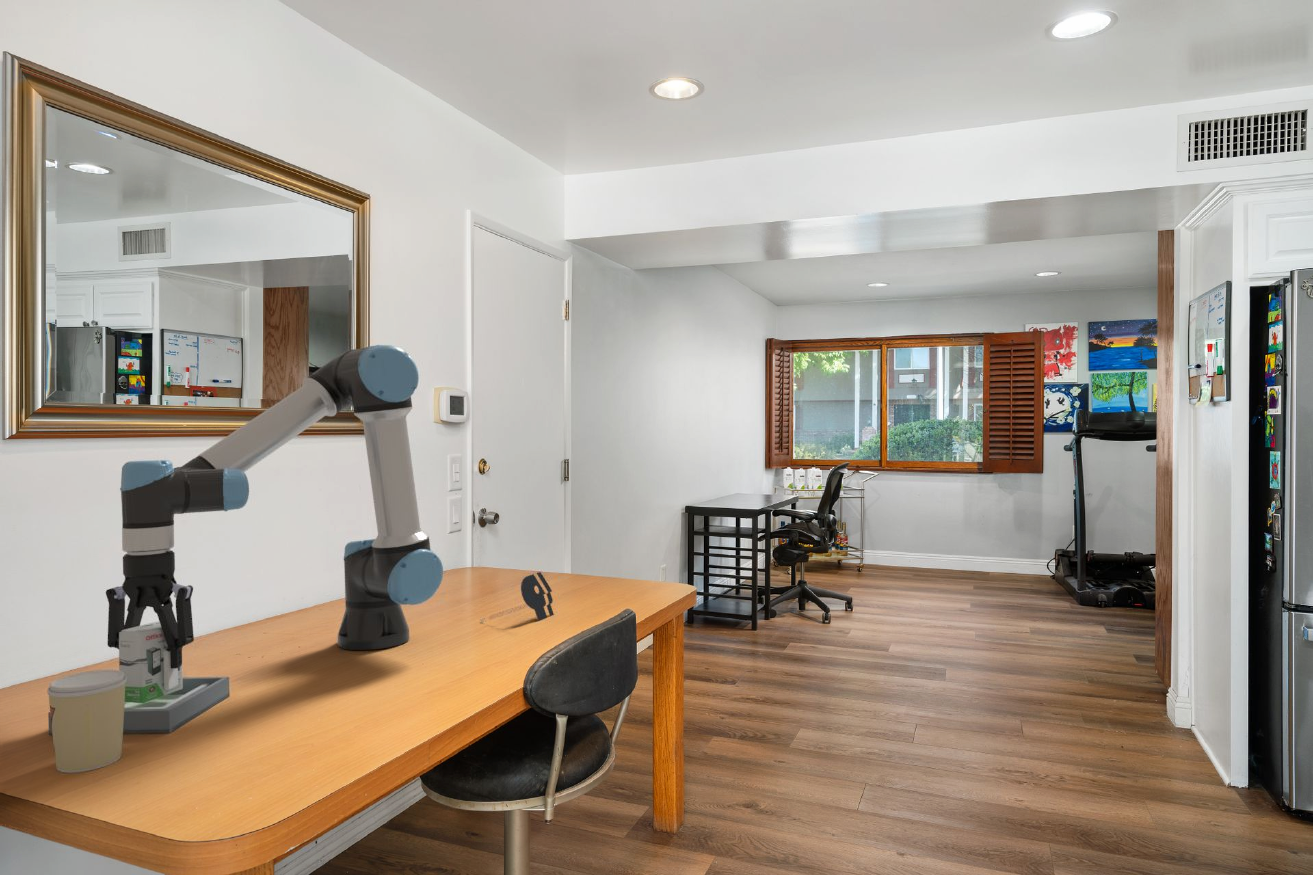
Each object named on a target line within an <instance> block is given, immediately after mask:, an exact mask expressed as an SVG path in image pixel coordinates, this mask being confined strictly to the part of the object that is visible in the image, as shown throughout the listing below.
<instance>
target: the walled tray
mask: <svg viewBox="0 0 1313 875" xmlns="http://www.w3.org/2000/svg"><path fill="white" fill-rule="evenodd" d="M182 680H183V689H181V690H178V691H175V692H173V693H170V694H167V695H164V696H162V697H159V698H156V699H153V700H151V701H148V702H145V703H133V702H125V705H124V722H123V735H126V734H128V735H134V734H135V735H136V734H138V735H140V734H143V735H144V734H171V733H172V732H174V731H175V730H176V731H177V729H179V728H181V727H183V726H184V725H185V724H187V723H189V722H190V721H191V720H194V719H195V718H197V717H198V716H200V715H202V714H203V713H205V712H206V711H208V710H210V709H211V708H213V707H215V706H216V705H218V704H220V703H221V702H222V701H224V700H226V699H228V698H229V697H230V676H190V677H189V676H187V677H185V676H184V677H183V676H182ZM48 736H53V734H52V725H51V715H50V711H49V712H48Z"/></svg>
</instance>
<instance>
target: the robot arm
mask: <svg viewBox="0 0 1313 875" xmlns="http://www.w3.org/2000/svg"><path fill="white" fill-rule="evenodd" d="M418 385H419V371H418V367H417V365H416V362H415V361H414V359H413V358H412V356H411V355H410V354H409V353H407V352H406V351H405V350H403V349H402V348H401V347H399V346H394V345H392V344H391V345H390V344H387V345H386V344H384V345H383V344H377V345H371V346H367V347H362V348H354V349H350V350H349V349H348V350H347V351H344V352H342V353H340V354H339V355H337V356H335V357H334V358H332V359H331V360H329V361H328V362H327V363H325V364H324V365H323V366H321V367H320V368H319V369H316V371H314V372H313V373H311V374H310V375H309V376H307V377H305V378H304V379H303V380H302V386H301V387H299V388H298V389H296V390H295V391H294V392H292V393H290V394H288V396H286V397H284V398H283V399H282V400H279V401H278V402H276V403H275V404H274V405H272V406H271V407H269V408H267V409H266V410H265V411H263V412H262V413H261V414H258V415H257V416H256V417H254V418H252V419H251V420H249V421H248V422H247V423H245V424H243V425H242V426H241V427H239V428H238V429H236V430H234V431H233V432H232V433H230V434H228V435H227V436H225V437H224V438H222V439H221V440H219V441H218V442H216V443H215V444H213V445H212V446H210V447H209V448H207V449H206V450H204V451H203V452H201V453H199V454H198V455H197V456H195V457H194V458H192V459H191V460H189V461H188V462H186V463H185V464H183V465H182V466H176V467H174V465H173V462H172V461H171V460H169V459H167V460H166V459H163V460H162V459H160V460H159V459H158V460H156V459H155V460H133V461H127V462H125V463H124V464H123V465H122V467H121V479H120V487H119V491H120V493H121V494H120V497H121V518H122V521H121V522H122V528H121V538H122V540H121V545H122V546H121V547H122V549H121V550H122V552H126V553H125V554H124V555H123V556H122V574H123V576H124V581H123V583H122V584H121V585H119V586H115V587H112V588H111V587H110V588H108V589H106V591H105V595H106V599H107V603H108V618H107V620H108V621H107V643H106V644H107V647H109V648H115V649H118V650H119V632H121V631H122V630H124V629H128V628H133V627H136V626H140V625H141V622H142V619H143V615H144V613H145V610H146V609H147V607H149V608H152V609H153V612H154V613H155V614H156V615H157V618H158V621H160V624H161V627H162V630H163V633H164V636H165V640H166V643H167V646H168V648H167V649H166V650H165V651H163V653H164V690H169V689H171V688H173V687H175V686H177V685H178V667H180V666H181V665H182V666H183V647H185V646H187V645H189V644H191V643H193V642H194V640H195V637H194V627H193V625H194V624H193V614H192V600H191V599H192V595H193V591H194V587H193V585H190V584H189V585H183V584H178V583H177V581H176V579H175V570H176V563H175V562H176V560H175V559H176V558H175V557H176V556H175V553H176V552H174V550H171V549H173V548H174V547H175V526H174V525H175V519H174V518H175V515H184V514H192V513H207V512H209V513H210V512H211V513H212V512H228V511H233V510H240V509H242V508H244V507H245V506H246V504H247V503H248V500H249V495H250V485H249V480H248V477H247V474H246V471H248V470H250V469H251V468H253V467H254V466H256V465H257V464H258V463H259V462H261V461H262V460H264V459H266V458H267V457H269V456H270V455H272V454H273V453H274V452H276V451H277V450H278V449H280V448H282V447H283V446H284V445H285V444H287V443H289V442H290V441H291V440H293V439H294V438H296V437H297V436H298V435H299V434H301V433H303V432H304V431H306V430H307V429H308V428H310V427H311V426H313V425H314V424H315V423H317V422H318V421H320V420H322V419H323V418H324V417H334V416H336V415H337V414H338V413H340V412H341V411H344V410H345V409H347V408H350V407H352V408H353V415H354V416H356V417H357V418H358V419H359V420H361V422H362V425H363V433H364V440H365V447H366V454H367V463H368V469H369V476H370V477H369V478H370V484H371V493H372V498H373V506H374V516H375V521H376V527H377V536H376V537H375V538H372V539H362V540H355V541H350V542H348V543H346V544H345V547H344V555H343V564H344V567H343V568H344V594H345V597H344V598H345V599H344V600H345V609H344V614H343V616H342V619H341V622H340V623H341V624H340V627H339V630H338V633H337V646H338V648H341V649H343V650H348V651H349V650H351V651H372V650H380V649H387V648H392V647H396V646H400V645H402V644H404V643H406V642H407V643H408V641H409V640H410V626H409V624H408V622H407V619H406V616H405V614H404V611H403V608H402V605H403V606H406V605H409V606H414V605H415V606H416V605H420V604H423V603H425V602H427V601H428V600H430V599H431V598H432V597H433V596H434V595H435V594H436V593H437V591H438V589H439V588H440V586H441V584H442V581H443V577H444V566H443V562H442V560H441V558H440V557H439V556H438V555H437V554H436V553H435V552H434V551H432V549H431V543H430V541H431V540H430V536H429V534H428V533H426V532H425V531H424V530H422V528H421V524H420V516H419V508H418V501H417V500H418V499H417V493H416V485H415V479H414V478H415V477H414V469H413V461H412V453H411V447H410V446H411V444H410V439H409V438H410V437H409V430H408V423H407V422H408V421H407V416H408V415H409V413H411V410H412V409H413V403H412V396H413V394H414V393H415V390H417V388H418ZM172 594H173V597H174V598H175V613H174V610H173V606H174V604H173V601H172V599H171V596H172ZM126 596H127V597H128V598H129V602H128V605H127V609H126V599H125V597H126ZM126 611H127V615H126V618H125V614H126ZM175 614H176V616H175Z"/></svg>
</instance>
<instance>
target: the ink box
mask: <svg viewBox="0 0 1313 875" xmlns="http://www.w3.org/2000/svg"><path fill="white" fill-rule="evenodd" d="M167 648H168V646H167V643H166V640H165V636H164V633H163V630H162V627H161V624H160V621H159V620H158V621H154V622H150V623H146V624H140V626H136V627H133V628H128V629H124V630H122V631H121V632H119V649H118V663H119V664H118V667H119V669H118V670H119V671H122V672H123V673H124V676H126V678H127V680H126V683H125V702H133V703H145V702H148V701H151V700H153V699H156V698H159V697H162V696H164V695H167V694H170V693H173V692H175V691H178V690H181V689H183V680H182V677H183V664H182V665H181V666H180V667H178V685H177V686H175V687H173V688H171V689H169V690H164V653H163V651H165V650H166V649H167Z"/></svg>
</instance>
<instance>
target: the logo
mask: <svg viewBox="0 0 1313 875" xmlns="http://www.w3.org/2000/svg"><path fill="white" fill-rule="evenodd" d="M536 575H537V576H538V578H539V580H540V582H541V583H540V582H539V581H538V578H537V577H536V576H535V574H534V573H532V574H530V575H529V574H528V575H527V576H524V577H523V579H522V580H521V583H520V592H521V597H522V598H523V601H524V603H525V604H521V605H519V606H516V607H515V606H514V608H509V609H507V610H504V611H503V610H502V611H501V612H497V613H495V614H493V615H490V618H489V621H491V620H494V619H497V618H500V617H502V616H505V615H508V614H511V613H514V612H518V611H521V610H523V609H526V608H528V607H529V609H532V610H534V613H535V616H536V620H537V622H541V621H544V620H545V619H547V618H548V616H547V612H546V610H545V606H546V608H547V611H548V614H549V617H552V616H554V615H555V614H554V611H553V607H552V604H553V602H554V601H553V596H552V594H551V593H552V592H553V591H552V590H553V589H552V588H551V586H550V585H549V583H548V582H547V581H546V579H545V577H544V576H543V574H542V572H541V571H538V572H536ZM541 584H542V585H543V587H544V588H545V590H546V592H545V590H544V589H543V587H542V585H541ZM535 587H537V589H538V592H536V590H535ZM545 595H546V597H547V601H548V603H547V601H546V598H545ZM485 621H486V617H484V618H481V619H479V622H480V623H484V622H485Z"/></svg>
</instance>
